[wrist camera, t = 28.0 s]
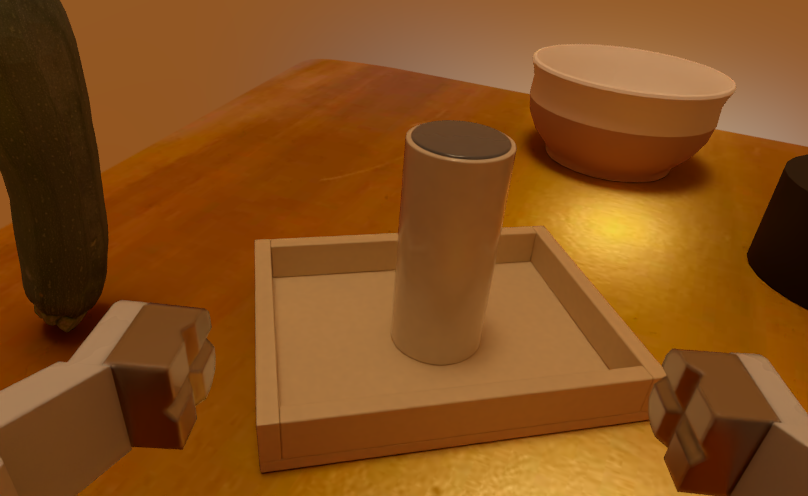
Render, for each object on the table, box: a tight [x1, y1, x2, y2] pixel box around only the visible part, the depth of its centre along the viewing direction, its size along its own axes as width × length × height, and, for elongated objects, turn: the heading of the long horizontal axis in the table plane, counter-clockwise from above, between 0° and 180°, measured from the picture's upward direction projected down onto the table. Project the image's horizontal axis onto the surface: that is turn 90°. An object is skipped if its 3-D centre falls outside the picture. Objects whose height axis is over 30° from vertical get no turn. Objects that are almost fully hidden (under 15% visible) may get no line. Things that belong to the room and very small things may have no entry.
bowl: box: [530, 44, 736, 182], centre depth 49 cm, size 16×16×8 cm
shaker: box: [391, 120, 517, 365], centre depth 25 cm, size 4×4×10 cm
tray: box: [255, 226, 666, 473], centre depth 28 cm, size 17×13×3 cm
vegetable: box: [0, 0, 108, 332], centre depth 22 cm, size 4×4×20 cm
